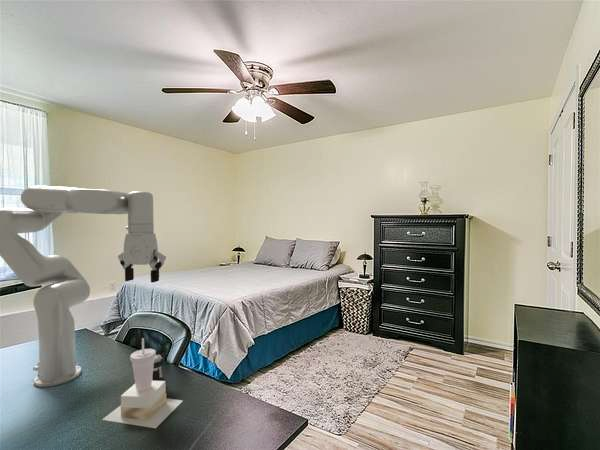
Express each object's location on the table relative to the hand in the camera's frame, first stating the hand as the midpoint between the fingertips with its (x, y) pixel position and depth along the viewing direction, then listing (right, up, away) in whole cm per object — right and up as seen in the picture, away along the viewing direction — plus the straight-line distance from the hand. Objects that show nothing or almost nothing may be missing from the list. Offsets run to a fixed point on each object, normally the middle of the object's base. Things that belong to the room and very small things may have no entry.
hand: (142, 281), depth 104 cm
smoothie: (+9, -27, -18) cm, 33 cm away
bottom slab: (+9, -32, -17) cm, 38 cm away
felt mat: (+9, -33, -17) cm, 38 cm away
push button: (+7, -33, -7) cm, 34 cm away
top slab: (+9, -29, -18) cm, 35 cm away
